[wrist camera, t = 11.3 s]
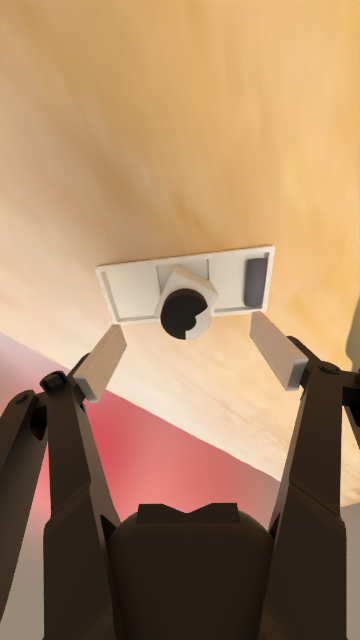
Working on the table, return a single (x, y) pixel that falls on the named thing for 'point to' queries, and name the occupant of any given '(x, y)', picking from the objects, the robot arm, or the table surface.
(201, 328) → the medicine bottle
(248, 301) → the grey cylinder
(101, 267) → the organiser
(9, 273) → the table surface
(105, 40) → the table surface
